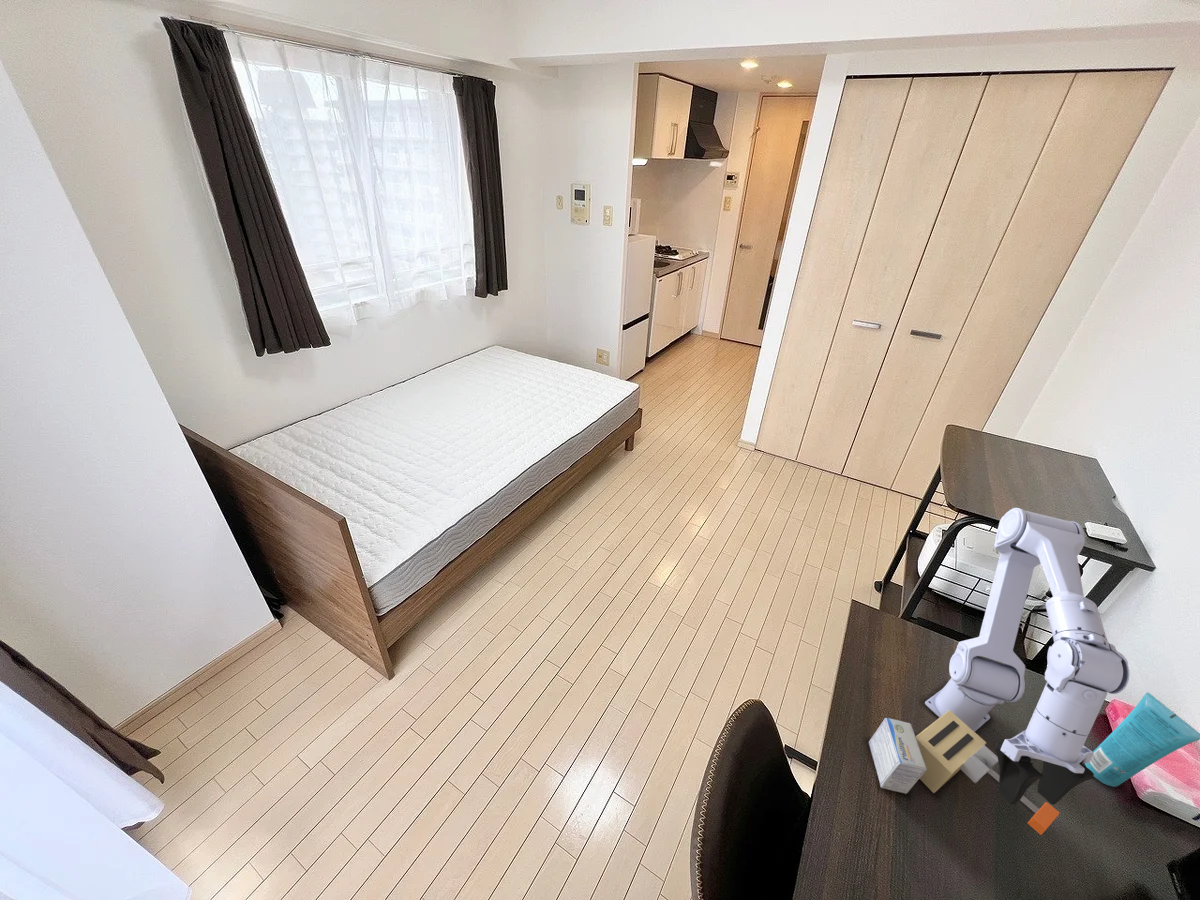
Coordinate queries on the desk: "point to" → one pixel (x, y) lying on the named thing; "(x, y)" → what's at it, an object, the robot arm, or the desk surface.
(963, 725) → the toaster
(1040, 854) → the desk surface
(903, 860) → the desk surface
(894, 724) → the medicine box
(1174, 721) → the tube
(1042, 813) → the lever
